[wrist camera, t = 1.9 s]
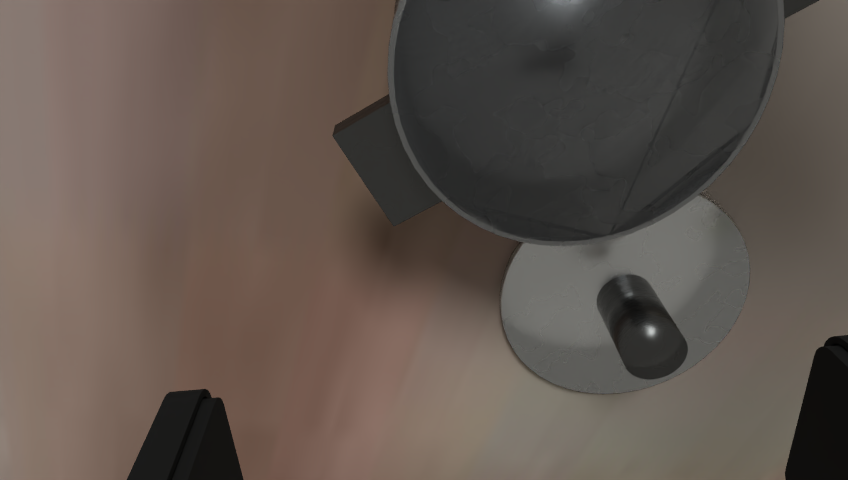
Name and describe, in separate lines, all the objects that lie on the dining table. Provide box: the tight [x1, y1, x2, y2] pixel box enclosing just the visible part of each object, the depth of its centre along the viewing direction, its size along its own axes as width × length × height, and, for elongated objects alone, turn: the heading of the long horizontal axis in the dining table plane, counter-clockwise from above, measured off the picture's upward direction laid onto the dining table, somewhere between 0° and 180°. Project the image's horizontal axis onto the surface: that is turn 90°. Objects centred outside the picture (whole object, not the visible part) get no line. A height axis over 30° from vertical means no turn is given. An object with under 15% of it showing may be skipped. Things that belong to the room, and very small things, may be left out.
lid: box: [500, 194, 750, 394], centre depth 35 cm, size 14×14×6 cm
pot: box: [333, 0, 819, 246], centre depth 26 cm, size 18×13×9 cm
